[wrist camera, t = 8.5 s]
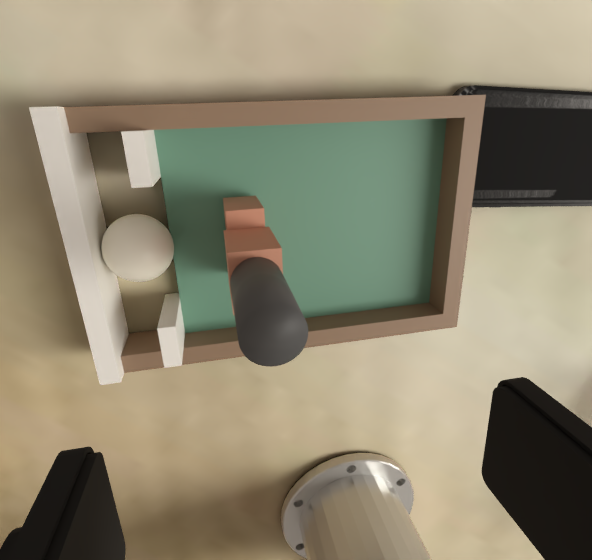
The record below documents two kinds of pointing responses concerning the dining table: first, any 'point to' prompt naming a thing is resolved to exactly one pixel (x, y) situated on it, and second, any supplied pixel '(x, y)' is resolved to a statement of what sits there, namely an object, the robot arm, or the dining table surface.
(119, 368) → the pitch
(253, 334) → the kicker
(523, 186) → the phone
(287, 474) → the dining table surface
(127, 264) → the ball
